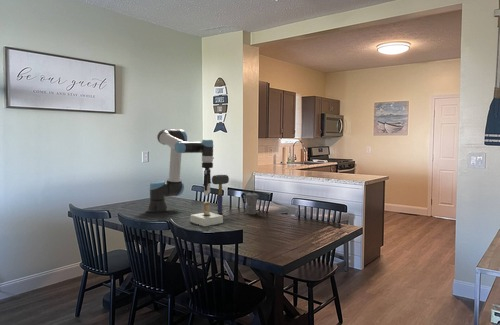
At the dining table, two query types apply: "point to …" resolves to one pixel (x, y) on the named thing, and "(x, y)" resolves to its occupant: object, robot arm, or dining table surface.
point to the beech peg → (206, 208)
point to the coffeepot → (250, 202)
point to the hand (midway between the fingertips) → (207, 194)
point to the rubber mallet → (220, 188)
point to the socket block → (206, 219)
